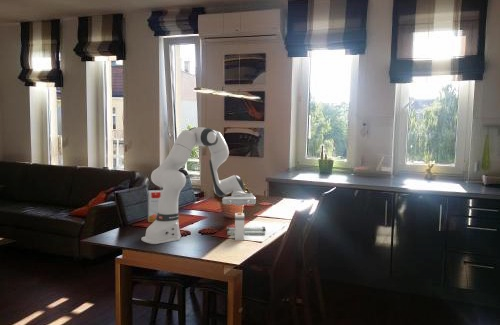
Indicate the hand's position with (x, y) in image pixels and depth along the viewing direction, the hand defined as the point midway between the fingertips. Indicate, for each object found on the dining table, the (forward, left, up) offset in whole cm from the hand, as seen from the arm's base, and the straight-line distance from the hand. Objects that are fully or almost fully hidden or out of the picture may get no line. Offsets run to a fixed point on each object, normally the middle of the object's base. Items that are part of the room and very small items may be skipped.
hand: (239, 203), depth 255 cm
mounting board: (+3, -3, -18) cm, 18 cm away
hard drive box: (-15, +57, -18) cm, 62 cm away
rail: (+3, -3, -16) cm, 17 cm away
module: (-9, -9, -18) cm, 22 cm away
